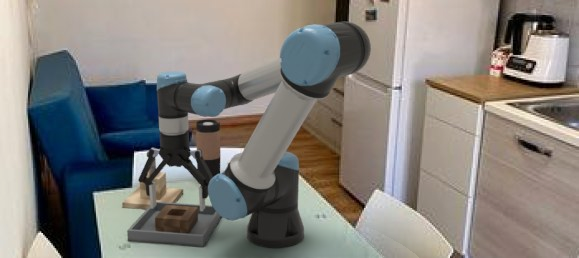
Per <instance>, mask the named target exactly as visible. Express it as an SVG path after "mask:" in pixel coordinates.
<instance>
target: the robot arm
mask: <svg viewBox="0 0 579 258" xmlns="http://www.w3.org/2000/svg"><path fill="white" fill-rule="evenodd" d="M371 45H372V43H371V41H370V38H369V36H368V34H367V32H366V31H365V30H364V29H363V28H362V26H360V25H358V24H356V23H354V22H350V21H337V22H330V23H324V24H318V23H317V24H315V23H314V24H309V25H305V26H303V27H299V28H298V29H296V30H295V29H294V30H293V31H292V32H291V33H290V34H289V35H288V36H287V37H286V38H285V40H284V41H283V43H282V45H281V48H280V53H279V58H277V59H274V60H272V61H270V62H267V63H264V64H262V65H260V66H257V67H255V68H252V69H249V70H247V71H245V72H242V73H239V74H237V75H235V76H232V77H228V78H224V79H217V80H214V81H209V82H205V83H195V82H194V83H193V82H189V81H188V79H187V74H186V73H185V72H183V71H165V72H159V74H158V75H157V77H156V92H157V93H156V96H157V97H156V99H157V109H158V127H159V128H158V130H159V131H160V133H159V145H160V146H159V147H160V148H159V149H158V148H156V146H155V147H154V146H153V147H151V148H150V149H149V150H148V152H149V153H148V157H147V159H146V162H145V164H144V167H143V168H142V171H141V173H140V175H139V177H138V179H137V181H138V182H139V183H140V182H143V183H145V185H146V194H147V196H150V208H151V209H153V208H154V207H155V206H156V205H157V203H156V186H155V182H152V181H153V180H154V178H155V177H156V176H157V175H158V174H159V172H162V170H163V169H164V168H165V167H166V165H167V166H168V167H170V168H171V167H176V168H181V167H183V168H184V169H186V171H188V173H190V174H191V176H192V177H193V178H194V179H195V180H196V181H197V182H198V184H199V185H200V186H199V187H198V197H199V199H198V201H199V205H200V211H203V210H204V209H205V205H206V199H208V197H209V201H210V203H211V206H213V208H214V209H215V211H216V212H217V213H218V214H219V215H220V216H221V218H223V219H225V220H227V221H237V220H240V219H245V218H246V217H248V216H250V217H249V221H248V223H247V225H246V237H247V239H248V240H249V241H250V242H251V243H253V244H255V245H257V246H261V247H264V248H274V249H276V248H279V249H280V248H287V247H291V246H294V245H296V244H299V243H300V242H302V240H303V239H304V238H305V226H304V223H303V220H302V217H301V214H300V211H299V181H300V175H299V174H300V170H301V169H300V163H299V157H298V156H297V155H296V154H294V153H292V152H289V151H287V150H288V148H289V147H290V146H291V143H292V141H293V140H294V138H295V137H296V135H297V133H298V132H299V131H300V129H301V126H302V125H303V123H304V122H305V120H306V119H307V117H308V115H309V113H310V112H311V110H312V109H313V107H314V105H315V103H316V102H317V100H324V99H325V98H327V97H328V96H329V95H330V92H331V91H332V90H333V88H334V86H335V84H336V83H337V81H338V80H339V79H340V78H344V77H347V76H350V75H353V74H355V73H357V72H359V71H360V70H361V69H363V68H364V67H365V66H366V65H367V62H368V61H369V59H370V57H371V56H370V55H371V51H372V50H371V49H372V48H371V47H372V46H371ZM272 94H273V96H272V98H271V100H270V102H269V104H268V105H267V106H266V109H265V111H264V112H263V114H262V115H261V118H260V120H259V121H258V123H257V124H256V127H255V129H254V130H253V132H252V134H251V136H250V137H249V139H248V142H247V144H246V145H245V147H244V149H243V151H242V152H239V153H236V154H235V155H233V157H232V158H231V159H230V160H229V161H230V162H229V164H228V163H227V166H226V168H225V170H224V171H223V172H222V173H220V174H217V175H215V176H214V177H213V175H212V174H211V172H210V170H209V168H208V166H207V164H206V162H205V160H204V159H203V156H202V150H201V149H198V150H197V149H195V150H192V149H191V148H190V132H189V131H188V130H189V129H190V127H189V114H192V115H197V116H200V117H205V118H207V117H208V118H209V117H210V118H215V117H218V116H220V114H221V113H222V112H224V110H226V109H231V108H234V107H237V106H243V105H247V104H250V103H252V102H254V101H255V100H257V99H260V98H263V97H266V96H269V95H272ZM158 155H159V156H160V158H161V159H162V161H161V162H160V163H159V164H158V166H156V169H155V170H154V172H153V173H152V174H151V175H150V177H149V178H147V175H148V172H149V170H150V168H151V166H152V163H153V161H154V159H156V158H157V157H158ZM156 156H157V157H156ZM191 156H192V158H193V159H195V162H196V165H197V164H198V166H199V168H200V169H201V171H202V173H203V175H204V176H203V175H202V174H201V173H200V172H199V170H198V169H197V166H195V165H194V164H193V161H192V160H191V159H190V157H191Z"/></svg>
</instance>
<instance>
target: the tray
mask: <svg viewBox="0 0 579 258" xmlns="http://www.w3.org/2000/svg"><path fill="white" fill-rule="evenodd" d="M156 203H157V205H156V206H155V207H154V208H153V209H151V208H150V206H149V207H148V209H145V210H144V212H142V214H140V216H139V217H138V218H137V219H136V220H135V221H134V222H133V223H132V225H131V226H129V228H128V229H127V231H126V232H127V233H126V234H127V242H135V243H148V244H159V245H161V244H162V245H171V246H173V245H174V246H183V247H185V246H187V247H196V248H197V247H199V248H204V246H205V245H206V243H207V241H208V240H209V238H210V237H211V236H212V233H213V232H214V230H215V229H216V227H217V225H218V224H219V222H220V220H221V219H222V217H221V216H220V215H219V214H218V213H217V212H216V211H215V209H214V208H213V206H212V205H209V204H205V209H204V210H203V211H200V204H193V203H181V202H179V203H177V202H176V203H167V202H156ZM166 205H174V206H188V207H198V221H197V223H196V224H195V226H194V227H193V228H192V230H191V231H190V233H189V234H185V233H172V232H159V231H156V230H155V217H156V216H157V215H158V214H159V213H160V211H161V210H162V209H163V208H164V207H165V206H166Z"/></svg>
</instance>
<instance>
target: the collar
mask: <svg viewBox="0 0 579 258" xmlns="http://www.w3.org/2000/svg"><path fill="white" fill-rule="evenodd" d="M197 221H198V207H188V206H174V205H166V206H165V207H164V208H163V209H162V210H161V211H160V213H159V214H158V215H157V216H156V217H155V230H156V231H159V232H172V233H185V234H189V233H190V231H191V230H192V228H193V227H194V226H195V224H196V223H197Z"/></svg>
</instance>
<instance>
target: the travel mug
mask: <svg viewBox="0 0 579 258" xmlns="http://www.w3.org/2000/svg"><path fill="white" fill-rule="evenodd" d="M195 125H196V126H195V127H196V130H195V131H196V132H195V134H196V136H195V137H196V150H198V149H201V150H202V156H203V159H204V160H205V162H206V164H207V166H208V168H209V170H210V172H211V174H212V175H213V177H214V176H215V175H217V174H221V123H220V122H218V121H217V120H216V119H210V118H209V119H201V120H198V121H196V123H195ZM196 168H197V169H198V170H199V172H200V173H201V174H202V175H203V173H202V171H201V169H200V168H199V166H198V164H197V163H196ZM203 176H204V175H203Z"/></svg>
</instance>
